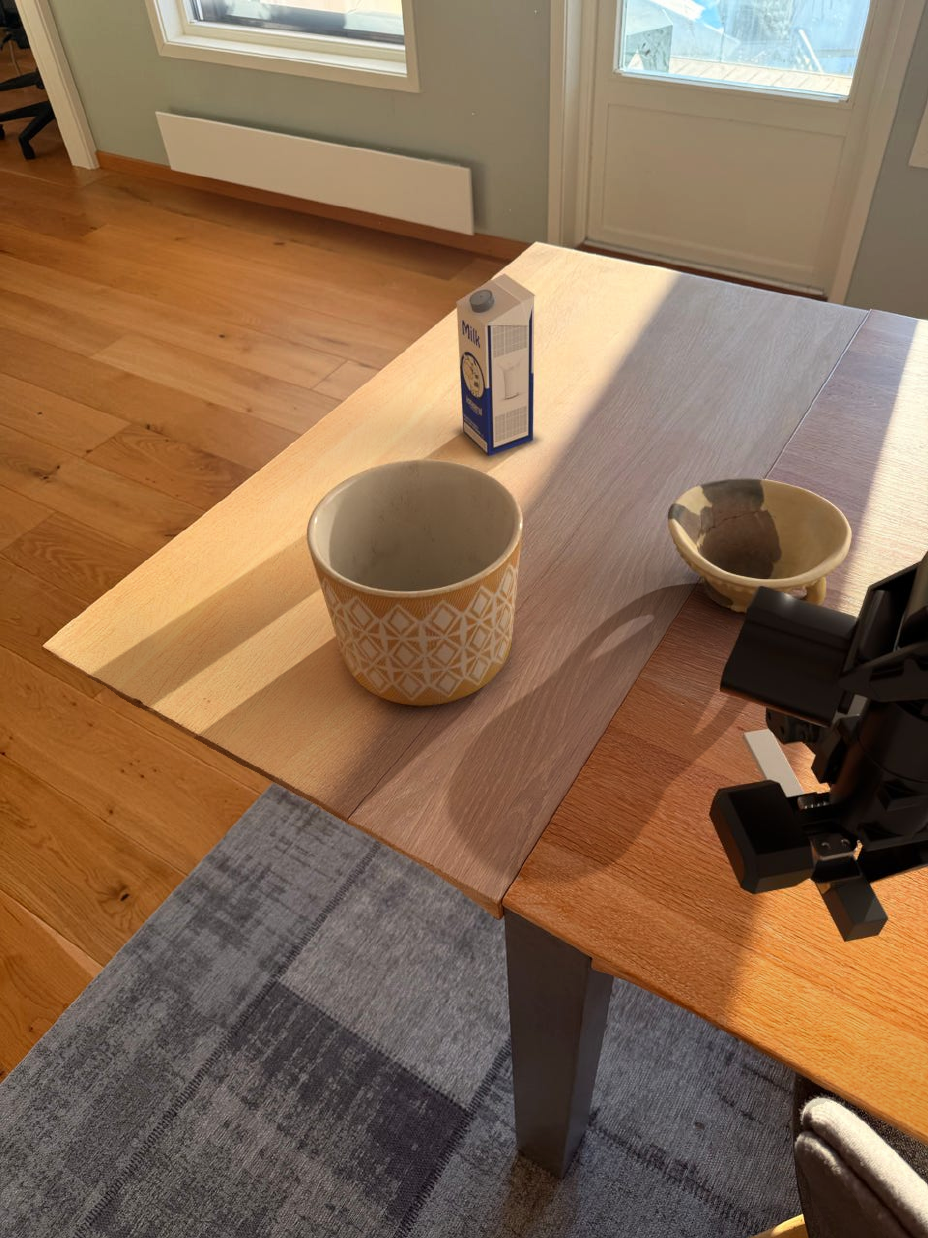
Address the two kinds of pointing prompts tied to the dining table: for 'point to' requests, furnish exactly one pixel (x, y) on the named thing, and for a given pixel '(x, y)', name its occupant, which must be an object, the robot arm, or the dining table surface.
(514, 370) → the milk carton
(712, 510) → the bowl
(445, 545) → the planter
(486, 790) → the dining table surface
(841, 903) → the two-tone stick
